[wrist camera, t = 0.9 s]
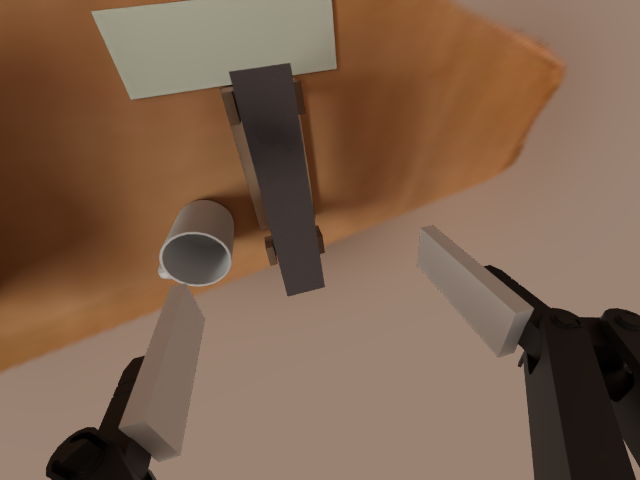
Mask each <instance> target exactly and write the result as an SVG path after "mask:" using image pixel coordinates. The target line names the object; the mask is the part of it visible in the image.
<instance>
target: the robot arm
mask: <svg viewBox="0 0 640 480" xmlns="http://www.w3.org/2000/svg"><path fill="white" fill-rule="evenodd" d="M417 266H418V267H419V268H420V269H421V270H422V271H423V273H424V274H425V275H426V276H427V277H428V278H429V279H430V281H431V282H432V283H433V284H434V285H435V286H436V287H437V289H438V290H439V291H440V292H441V293H442V294H443V295H444V297H445V298H446V299H447V300H448V301H449V302H450V303H451V305H453V307H454V308H455V309H456V310H457V311H458V312H459V314H460V315H461V316H462V317H463V318H464V319H465V320H466V321H467V323H468V324H469V325H470V326H471V327H472V328H473V330H474V331H475V332H476V333H477V334H478V335H479V336H480V338H482V340H483V341H484V342H485V343H486V344H487V345H488V347H489V348H490V349H491V350H492V351H493V352H494V353H495V355H496V356H497V357H502V356H505V355H508V354H511V353H514V351H515V349H516V347H517V345H518V344H519V345H520V346H521V347H522V348H523V349H524V352H523V354H522V356H521V358H520V361H519V363H518V367H521V366H522V364H523V362H524V373H525V383H526V394H527V403H528V414H529V425H530V436H531V447H532V457H533V469H534V479H535V480H636V478H635V475H634V472H633V469H632V466H631V463H630V459H629V457H628V453H627V450H626V447H625V444H624V441H625V443H626V445H627V446H628V448H629V450H630V451H631V453H632V455H633V457H634V458H635V460H636V462H637V464H638V465H639V467H640V316H639V315H638V314H636V313H633V312H630V311H627V310H623V309H618V308H616V309H615V308H614V309H608V310H606V311H605V312H604V313H603V315H602V316H601V318H595V317H594V318H593V317H591V318H590V317H578V316H577V315H575V314H573V313H571V312H569V311H566V310H563V309H557V308H550V307H548V306H547V305H546V304H544V303H543V302H542V301H540V300H539V299H538V298H537V297H535V296H534V295H533V294H531V293H530V292H529V291H528V290H526V289H525V288H524V287H522V286H521V285H519V284H518V283H517V282H516V281H515V280H513V279H511V277H510V276H508V275H507V274H506V273H504V272H503V271H502V270H500V269H497V268H495V267H493V266H491V265H488V266H484V267H483V266H482V265H481V264H480V263H478V262H477V261H476V260H475V259H473V258H472V257H471V256H470V255H469V254H467V253H466V252H465V251H464V250H462V249H461V248H460V247H459V246H458V245H456V244H455V243H454V242H453V241H452V240H450V239H449V238H448V237H447V236H445V235H444V234H443V233H442V232H440V231H439V230H438V229H437V228H436V227H435V226H433V225H432V226H427V227H423V228H421V229H420V239H419V250H418V260H417ZM204 321H205V318H204V316H203V314H202V312H201V310H200V308H199V306H198V305H197V303H196V301H195V299H194V297H193V295H192V293H191V291H190V289H189V288H188V286H187V284H186V283H184V284H179V285H175V286H171V287H170V290H169V292H168V295H167V298H166V301H165V303H164V306H163V309H162V311H161V314H160V317H159V319H158V322H157V325H156V328H155V330H154V333H153V336H152V339H151V341H150V344H149V346H148V349H147V352H146V355H145V356H142V357H138V358H134V359H133V360H132V361H131V362H130V364H129V365H128V366H127V367H126V369H125V370H124V371H123V373H122V376H121V378H120V380H119V383H118V387H117V388H116V390H115V392H114V395H113V396H114V397H113V398H112V399H111V402H110V404H109V407H108V409H107V411H106V414H105V416H104V418H103V420H102V423H101V425H100V428H99V430H97V429H96V428H94V427H87V428H84V429H81V430H79V431H77V432H75V433H74V434H72V435H71V436H69V437H68V438H67V439H66V440H65V441H64V442H63V443H62V444H61V445H60V446H59V447H58V448H57V449H56V451H55V452H54V453H53V455H52V456H51V458H50V460H49V462H48V465H47V467H46V476H47V477H49V478H51V479H52V480H156V478H155V476H154V475H153V473H152V472H151V471H150V470H149V469H148V467H149V463H150V459H151V456H152V457H153V458H154V459H156V460H157V461H158V462H160V461H163V460H167V459H170V458H173V457H177V456H180V454H181V449H182V443H183V438H184V432H185V427H186V421H187V416H188V410H189V405H190V399H191V394H192V388H193V383H194V377H195V371H196V366H197V360H198V355H199V349H200V344H201V338H202V333H203V327H204ZM623 439H624V441H623Z"/></svg>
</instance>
